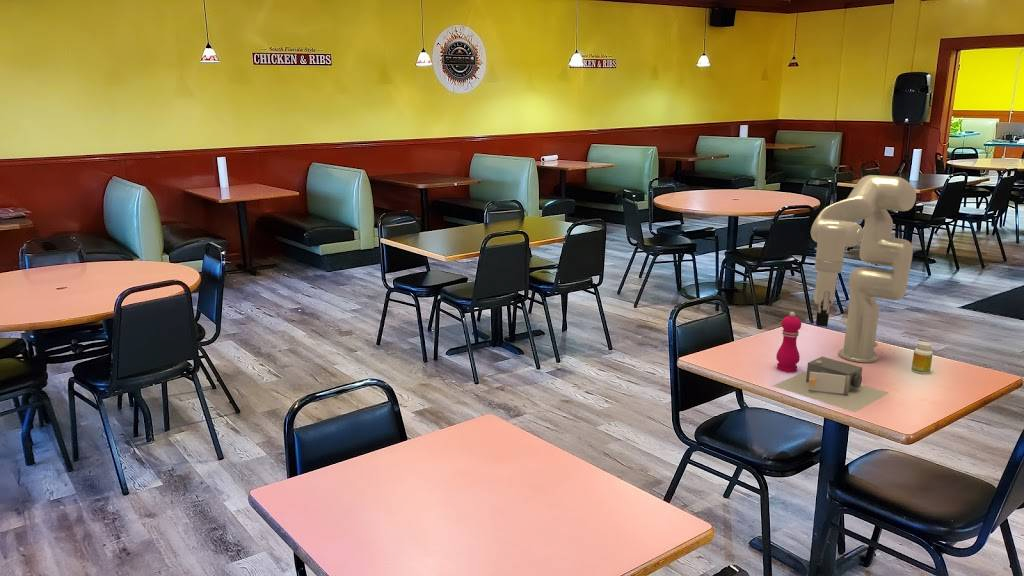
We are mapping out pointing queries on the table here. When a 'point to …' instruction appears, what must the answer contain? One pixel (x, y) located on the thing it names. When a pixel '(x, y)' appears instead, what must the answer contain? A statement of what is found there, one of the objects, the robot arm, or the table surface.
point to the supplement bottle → (922, 358)
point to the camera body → (836, 370)
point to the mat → (849, 402)
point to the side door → (829, 382)
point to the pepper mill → (789, 344)
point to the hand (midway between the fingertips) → (821, 325)
